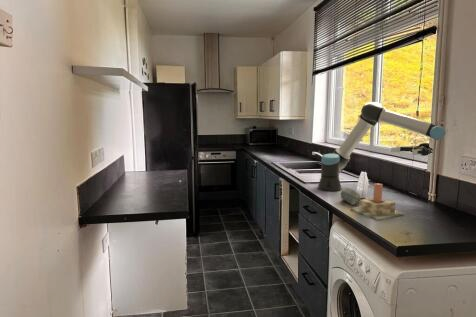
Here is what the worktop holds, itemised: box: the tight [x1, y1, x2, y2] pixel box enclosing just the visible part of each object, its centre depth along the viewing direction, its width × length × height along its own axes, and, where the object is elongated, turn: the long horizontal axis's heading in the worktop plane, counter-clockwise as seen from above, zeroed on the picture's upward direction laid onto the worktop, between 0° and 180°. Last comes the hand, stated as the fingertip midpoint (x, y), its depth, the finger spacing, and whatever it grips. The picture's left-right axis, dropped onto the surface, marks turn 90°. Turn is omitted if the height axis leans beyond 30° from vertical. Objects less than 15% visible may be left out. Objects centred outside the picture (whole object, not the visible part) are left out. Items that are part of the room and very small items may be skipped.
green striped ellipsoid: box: [340, 187, 361, 206], centre depth 185 cm, size 14×10×10 cm
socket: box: [350, 197, 405, 221], centre depth 166 cm, size 18×18×6 cm
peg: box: [372, 182, 384, 203], centre depth 166 cm, size 4×4×14 cm
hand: (401, 151), depth 179 cm, fingers open, 13 cm apart
